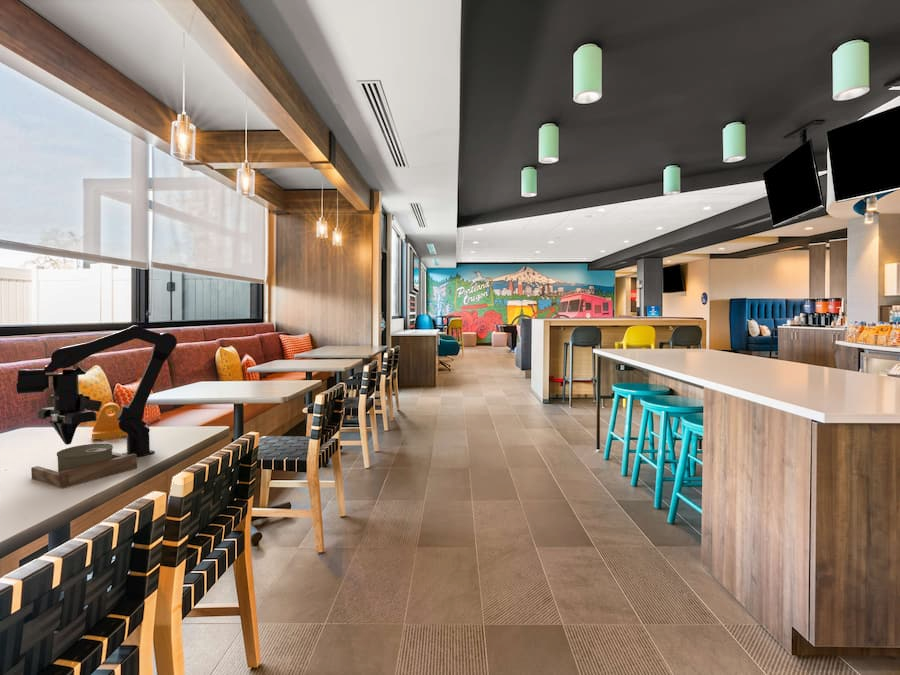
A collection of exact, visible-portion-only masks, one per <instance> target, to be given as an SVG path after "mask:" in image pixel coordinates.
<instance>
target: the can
mask: <svg viewBox="0 0 900 675" xmlns="http://www.w3.org/2000/svg"><path fill="white" fill-rule="evenodd" d="M113 448H114V446H113V444H110V443H89V444H82V445H75V446H71V447H67V448H64V449H61V450H59V451H57V453H56V456H57V472H60V471H64V470H68V469H73V468H77V467H81V466H85V465H89V464H93V463H97V462H101V461H105V460H109V459H112V452H113Z"/></svg>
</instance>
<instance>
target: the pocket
mask: <svg viewBox="0 0 900 675" xmlns="http://www.w3.org/2000/svg"><path fill="white" fill-rule="evenodd" d="M137 468H138V457H137V454H130V455H123V454H122V453H118V452H113V451H112V459H109V460H105V461H101V462H97V463H93V464H89V465H85V466H81V467H77V468H73V469H68V470H64V471H60V472H58V470H52V469H49V468H45V467H44V466H43V467H42V466H39V465H37V466H33V467H31V470H30V471H31V472H30V473H31V479H32V480H34V481H38V482H41V483H45V484H47V485H50V486H52V487H53V486H54V487H56V488H60V489H66V488H69V487H72V486H76V485H77V486H78V485H80V484H83V483H88V482H91V481H94V480H98V479H102V478H105V477H109V476H113V475H115V474H116V475H117V474H119V473H120V474H121V473H124V472H128V471H131V470H135V469H137Z"/></svg>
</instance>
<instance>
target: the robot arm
mask: <svg viewBox="0 0 900 675" xmlns="http://www.w3.org/2000/svg"><path fill="white" fill-rule="evenodd" d="M135 339H137V340H140V341H142V342H147V343H149V344H152V345H153V346H152V350H151V354H150V359H149V361H148V364H147V366H146V368H145V370H144V372H143V375H142V377H141V378H140V382H139V384H138V386H137V389H136V390H135V392H134V395H133V397H132V399H131V401H130V402H129V403H128V404H125V403H123V404H122V406H121V408H120V409H121V412H120V413H119V414H118V415H117V420H119V428H120V429H121V430H122V431H123V432H126V433H127V436H126V452H123V453H121V454H123V455H130V454H137V458H138V457H141V456H146V455H150V454H155V450H152V449H150V447H151V446H150V431H151V430H150V427H149V424H148V423H146V422H145V421H143V418H144V414H145V409H146V408H145V407H146V404H147V401H148V400H149V397H150V395H151V392H152V390H153V388H154V386H155V384H156V381H157V379H158V377H159V375H160V373H161V370H162V368H163V366H164V364H165V362H166V360H167V359H168V358H169V357H170V355H171V354H172V353H173V351H174V350H175V348H176V347H177V344H178V339H177V337H176V336H174V334H172V333H169V332H160V333H159V332H155V331H152V330H149V329H146V328H143V327H141V326H139V325H131V326H130V327H128V328H125V329H122V330H120V331H116V332H114V333H110V334H107V335H106V336H103V337H100V338H97V339H94V340H91V341H89V342H83V343H79V344H73V345H67V346H64V347H60V348H58V349H56V350H54V351H53V352H52V354H51V356H50V360H51V361H50V362H49V363H48V364H47V365H44V368H42V369H41V368H38V369H26V368H25V369H18V370H17V380H16V386H15V387H16V392H17V395H29V394H41V393H42V394H43V393H45V392H46V390H47V389H51V377H52V394H50V395H49V399H50V400H52V401H53V406H50V407H43V408H40V409H39V410H38V411H37V419H40V420H46V418H50V417H51V420H49V421H48V423H49V424H50V425H51V427H53V429H54V430H55V432H56V433H57V434H58V436H59V437H60V439H61V440H62V442H63V443H64V444H65V445H66V446H67V445H71V444H72V442H73V440H74V436H75V433H76V430H77V428H78V427H79V425H80V424H82V423H89V422H94V421H97V419H98V417H97V413H96V412H100V411H101V408H102V404H103V401H102V400H96V399H91V397H90V396H89V395H84V394H83V393H81V392H80V390H79V388H80V386H79V376H80V375H82V376H83V375H86V374H87V371H86V370H84V369H83V368H82V367H81V366H79V365H78V366H77V367H76V368H73V369H71V367H73V366H74V365H77V364H78V363H80V362H82V361H83V360H86V359H87V358H89V357H91V356H92V355H94V354H98V353H100V352H103V351H105V350H106V351H107V350H108V349H110V348H114V347H116V346H120V345H122V344H125V343H127V342H130V341H132V340H135ZM68 368H70V369H68ZM60 369H62V372H57V373H56V371H58V370H60ZM54 372H55V373H54Z"/></svg>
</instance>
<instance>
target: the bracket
mask: <svg viewBox="0 0 900 675" xmlns="http://www.w3.org/2000/svg"><path fill="white" fill-rule="evenodd" d="M108 409H114V410H115V412H114V413H107V410H108ZM121 409H122V408H121V407H120V406H119V404H118V403H116V402H107V403H105V404H104V405H103V406H101V409H100V411H99V412H100V413H99V414H98V417H97V420H95V421H96V422H95V424H94V426H93V428H92V432H91V439H92V440H100V439H101V441H111V440H119V439H122V437H125V436H126V437H127V433H126V432H123V431H122V430H121V429H120V428H119V420H117V415H118V414H119V413H120V412H121Z"/></svg>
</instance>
